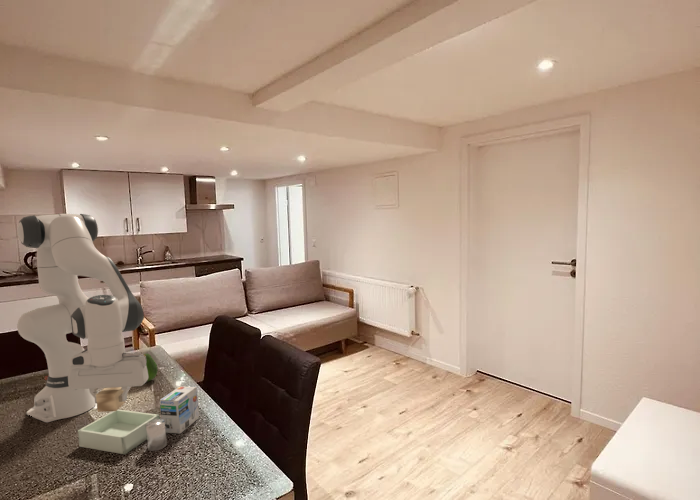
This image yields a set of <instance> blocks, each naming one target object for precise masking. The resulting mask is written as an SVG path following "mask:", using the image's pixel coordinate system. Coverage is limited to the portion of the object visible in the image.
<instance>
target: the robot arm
mask: <svg viewBox="0 0 700 500" xmlns="http://www.w3.org/2000/svg"><path fill="white" fill-rule="evenodd" d="M97 223H98V222H97V221H96V218H94V217H93V216H92V215H90V214H86V213H79V214H77V213H75V214H74V213H57V214H56V213H55V214H43V215H35V214H34V215H28V216H23V217H22V218H21V219H20V220H19V221H18V224H17V229H16V233H17V237H18V239H19V241H20V243H21V244H22V245H23V246H24V247H26V248H31V249H36V266H37V275H38V287H39V288H40V289H41V291H42V292H44V293H46V294H49V295H52V296H55V297H56V298H57V299H58V303H57V304H53V305H47V306H43V307H38V308H35V309H32V310H30V311H28V312H27V311H26V312H25V313H23V314H21V316H20V317H19V318H18V321H17V324H16V325H17V329H16V330H17V332H18V335H20V337H22V338H23V339H24V340H26V341H28V342H30V343H34V344H35V345H37V346H38V348H40V349H41V351H42V352H43V353H44V357H45V359H46V363H47V369H48V375H46V376H44V380H45V381H46V385H45V386H44V387H43V389H41V390H40V391H39V392H38V393H36V395H35V396H34V402H33V403H34V404H33V405H34V406H33V407H31V408H30V409H28V410H27V411H26V415H27V416H29V415H30V417H31V416H32V417H31V418H34V419H37V420H39V421H42V422H44V423H50V422H53V421H57V420H61V419H62V420H63V419H67V418H72V417H75V416H79V415H81V414H83V413H86V412H88V411H89V410H91V409H93V408H94V407H95V406H96V405H97V399H96V394H98V393H99V392H100V391H99V389H104V388H113V387H122V390H124V392H123V394H121V395H120V396H119V402H125V403H126V401H127V400H128V393H129V390H130V389H131V387H142V386H143V385H145V383H147V382H146V381H147V380H148V378H149V377H148V370H147V366H146V356H144V355H143V354H144V353H141V352H138V351H137V352H126V347H125V339H124V336H123V333H126V332H132V331H135V330H137V329H138V327H140V326H141V324H142V323H143V321H144V318H145V314H144V309H143V306H142V305H141V303H140V301H139V300H138V299H137V298H136V297H135V295H134V294H133V293H132V291H131V289H130V287H129V286H128V284H127V282H126V281H125V278H124V277H123V275H122V274H121V272H120V270H119V269H118V267H117V265H116V264H115V262H114V261H113V260H112V258H110V257H109V256H106V255H104V254H103V253H101V252H100V251H99V250H98V249H97V248H96V246H95V244H94V241H96V239H97V238H98V234H99V225H98V224H97ZM79 276H80V277H88V278H92V279H97V280H99V281H101V282H103V283H105V285H107V287H108V289H109V292H110V293H111V295H110V294H99V295H94V296H91V297H89V296H87V295H86V293H84V291H83V290H82V288H81V285H80V284H79V278H78V277H79ZM71 333H72V334H73V335H74V336H76V337H77V338H80V339H82V340H84V339H85V340H86V339H87V345H86V347H87V348H86V349H85V348H84V347H83V345H81V344H79V343H78V342H77V343H76V342H72V341H68V340H67V334H71ZM141 355H142V356H141Z"/></svg>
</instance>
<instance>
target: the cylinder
mask: <svg viewBox="0 0 700 500" xmlns="http://www.w3.org/2000/svg"><path fill="white" fill-rule="evenodd" d="M146 432H147V440H146V441H147V450H148V451H151V452H156V451H160V450H162V449H164V448H165V447H166V446H167V444H168V443H167V433H166V429H165V420H163V419H161V418H160V419H156V420H153V421H150V422H149V423H147V424H146Z"/></svg>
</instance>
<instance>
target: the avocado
mask: <svg viewBox="0 0 700 500" xmlns="http://www.w3.org/2000/svg"><path fill="white" fill-rule="evenodd" d="M142 354H143V355H144V356H146V366H147V370H148V377H149V378H148V380H147V381H146V382H145V383H147V382H151V381H153V380H154V379H155V378H156V376H157V374H158V372H159V371H158V364H157V363H156V361H155V360H154V358H153V357H152V355H150V354H149V353H142ZM140 356H142V355H140Z"/></svg>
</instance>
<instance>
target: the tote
mask: <svg viewBox="0 0 700 500" xmlns="http://www.w3.org/2000/svg"><path fill="white" fill-rule="evenodd" d="M156 419H161V417H160V414H159V413H158V414H155V413H150V412H149V413H148V412H141V411H134V410H127V409H125V410H124V409H120V408H119V409H118V410H117V411H110V412H109V413H106V414H105V415H104V416H101V417H100V418H98V419H96V420H94V421H92V422H90V423H89V424H87V425H85V426H83V427H82V428H80V429H78V430H77V436H78V437H77V438H78V445H79V447H80V448H86V449H92V450H96V451H97V450H98V451H103V452H109V453H114V454H115V453H116V454H119V455H127V454H128V453H129V452H131V451H132V450H133V449H136V447H138V446H140V445H141V444H142V443H144V442H145V441H147V432H146V424H147V423H149V422H150V421H153V420H156Z"/></svg>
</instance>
